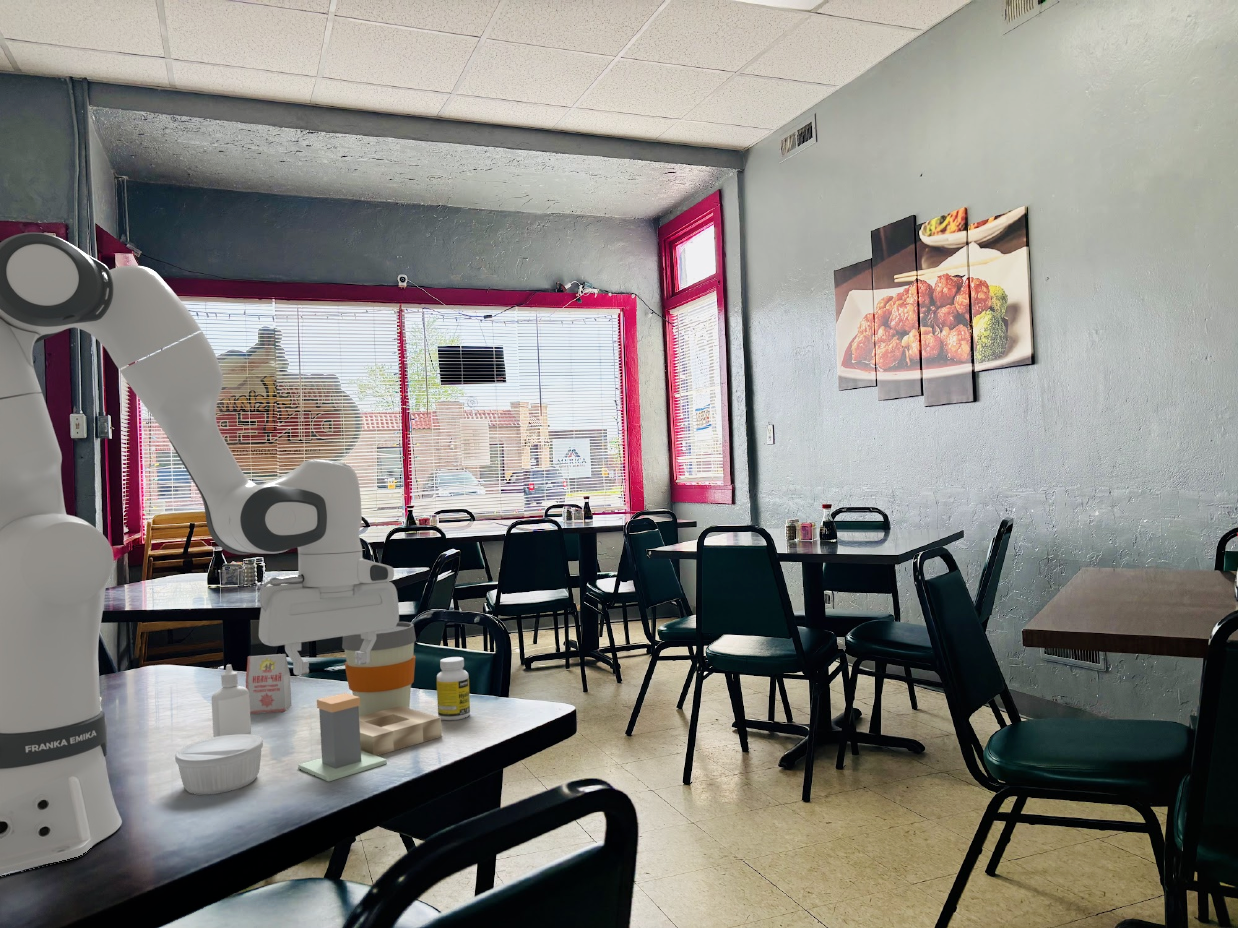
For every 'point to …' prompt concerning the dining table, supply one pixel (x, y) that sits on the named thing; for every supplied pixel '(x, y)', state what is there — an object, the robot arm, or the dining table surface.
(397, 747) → the socket block
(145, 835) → the dining table surface
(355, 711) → the plug
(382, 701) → the reusable coffee cup
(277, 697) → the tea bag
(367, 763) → the coaster
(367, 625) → the robot arm
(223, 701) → the eye dropper bottle
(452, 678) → the supplement bottle
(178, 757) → the ramekin
